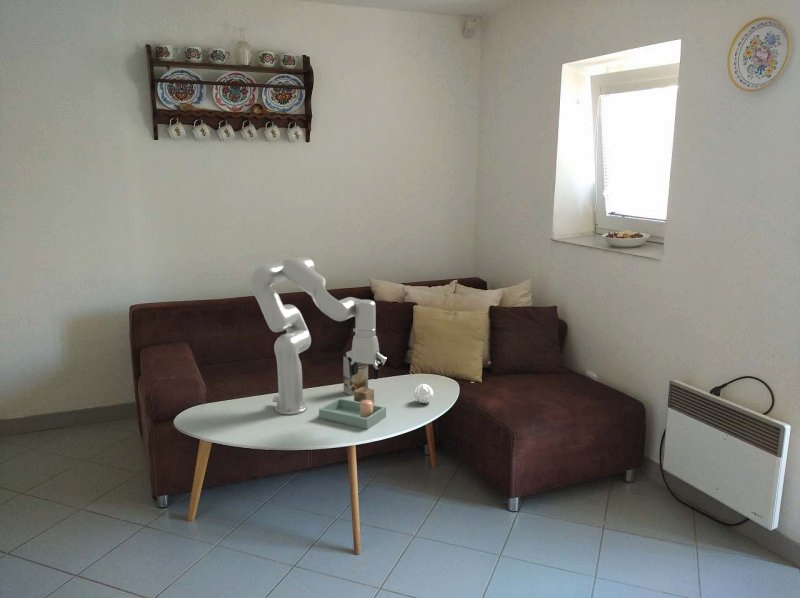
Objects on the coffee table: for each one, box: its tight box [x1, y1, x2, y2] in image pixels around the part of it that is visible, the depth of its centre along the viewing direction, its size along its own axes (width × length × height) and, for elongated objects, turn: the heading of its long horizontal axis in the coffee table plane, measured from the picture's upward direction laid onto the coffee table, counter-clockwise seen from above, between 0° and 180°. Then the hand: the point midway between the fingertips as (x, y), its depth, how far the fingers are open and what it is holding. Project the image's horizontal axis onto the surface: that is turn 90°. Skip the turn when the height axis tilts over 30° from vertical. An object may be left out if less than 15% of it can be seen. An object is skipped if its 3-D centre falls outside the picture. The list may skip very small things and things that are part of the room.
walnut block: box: [353, 387, 375, 404], centre depth 259 cm, size 6×6×6 cm
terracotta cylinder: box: [360, 400, 374, 418], centre depth 241 cm, size 5×5×7 cm
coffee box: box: [342, 355, 369, 396], centre depth 273 cm, size 9×6×16 cm
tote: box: [318, 397, 387, 431], centre depth 245 cm, size 22×14×4 cm, turn 62°
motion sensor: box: [413, 383, 434, 404], centre depth 261 cm, size 8×8×8 cm
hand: (365, 376), depth 239 cm, fingers open, 9 cm apart
